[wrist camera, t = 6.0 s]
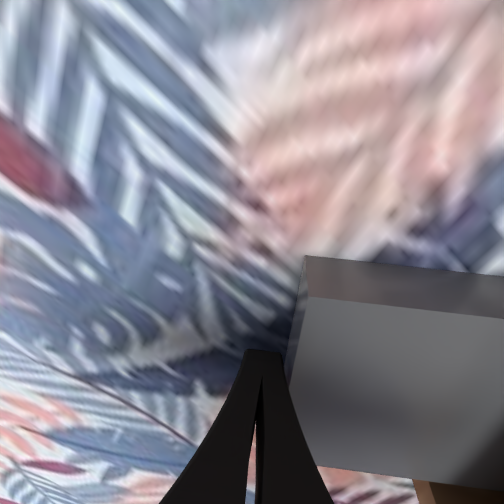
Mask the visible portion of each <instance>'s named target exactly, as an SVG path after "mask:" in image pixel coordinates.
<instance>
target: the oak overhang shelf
mask: <svg viewBox="0 0 504 504" xmlns="http://www.w3.org/2000/svg"><path fill="white" fill-rule="evenodd" d="M412 481H413V484H414V487H415V491H416V494H417V497H418V501H419V504H504V492H502V491H495V490H488V489H481V488H473V487H466V486H459V485H452V484H445V483H438V482H431V481H423V480H416V479H412Z"/></svg>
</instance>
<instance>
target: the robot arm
mask: <svg viewBox="0 0 504 504" xmlns="http://www.w3.org/2000/svg"><path fill="white" fill-rule="evenodd" d="M255 423H256V487H255V504H334V502H333V500H332V498H331V496H330V494H329V492H328V490H327V488H326V486H325V484H324V482H323V480H322V477H321V475H320V473H319V471H318V469H317V466H316V464H315V462H314V459H313V457H312V455H311V452H310V450H309V447H308V445H307V442H306V440H305V437H304V434H303V432H302V429H301V426H300V424H299V421H298V418H297V415H296V412H295V408H294V405H293V402H292V399H291V395H290V392H289V388H288V384H287V380H286V376H285V371H284V365H283V358H282V354H281V353H279V352H270V351H262V350H254V349H247V350H245V352H244V357H243V360H242V363H241V366H240V369H239V372H238V374H237V377H236V379H235V382H234V384H233V386H232V388H231V390H230V392H229V394H228V397H227V399H226V401H225V403H224V405H223V406H222V408H221V410H220V412H219V414H218V416H217V417H216V419H215V421H214V423H213V425H212V427H211V428H210V430H209V432H208V433H207V435H206V437H205V438H204V440H203V441H202V443H201V445H200V446H199V448H198V449H197V451H196V452H195V454H194V456H193V457H192V458H191V460H190V461H189V463H188V464H187V466H186V467H185V469H184V470H183V472H182V473H181V475H180V476H179V477H178V479H177V480H176V482H175V483H174V484H173V486H172V487H171V488H170V490H169V491H168V492H167V494H166V495H165V496H164V497H163V499H162V500H161V501H160V503H159V504H245V498H246V487H247V476H248V464H249V458H250V452H251V446H252V441H253V435H254V429H255Z"/></svg>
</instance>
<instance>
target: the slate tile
mask: <svg viewBox="0 0 504 504" xmlns="http://www.w3.org/2000/svg"><path fill="white" fill-rule="evenodd" d="M284 371H285V376H286V380H287V384H288V388H289V392H290V395H291V399H292V402H293V405H294V408H295V412H296V415H297V418H298V421H299V424H300V426H301V429H302V432H303V434H304V437H305V440H306V442H307V445H308V447H309V450H310V452H311V455H312V457H313V459H314V462H315V464H316V466H323V467H330V468H337V469H345V470H352V471H359V472H366V473H373V474H380V475H388V476H395V477H402V478H409V479H416V480H423V481H431V482H438V483H445V484H452V485H459V486H466V487H473V488H481V489H488V490H495V491H502V492H504V277H501V276H492V275H483V274H474V273H464V272H455V271H446V270H437V269H427V268H418V267H409V266H400V265H390V264H381V263H372V262H363V261H354V260H344V259H335V258H326V257H317V256H307V255H305V258H304V263H303V268H302V274H301V279H300V284H299V290H298V295H297V300H296V306H295V311H294V316H293V322H292V327H291V332H290V337H289V343H288V348H287V353H286V359H285V364H284Z"/></svg>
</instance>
